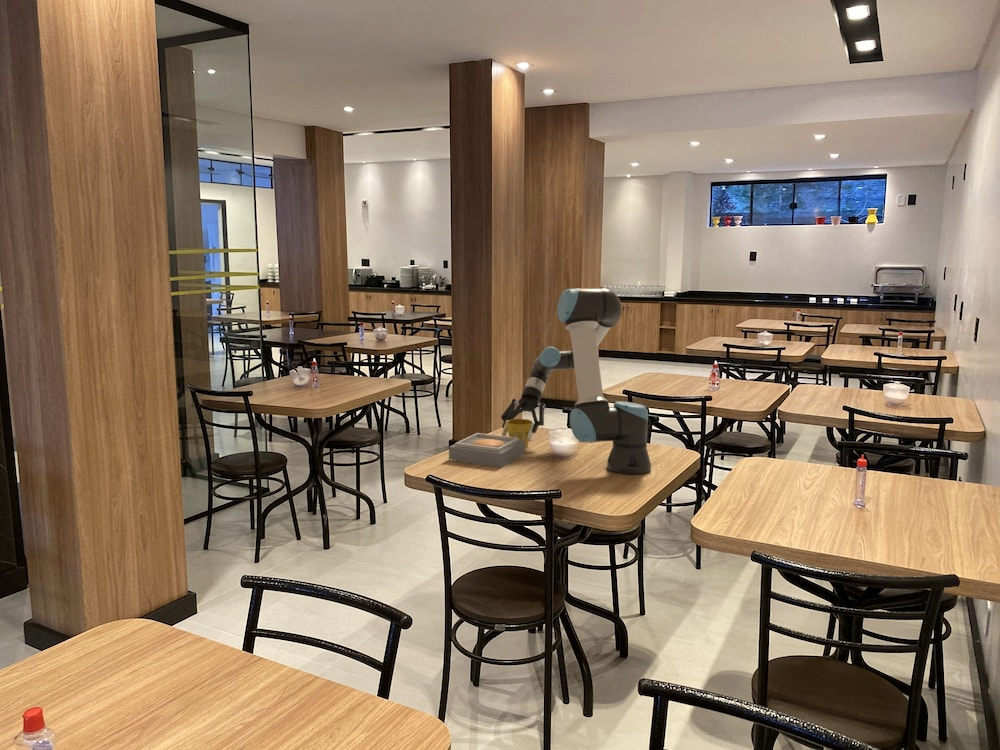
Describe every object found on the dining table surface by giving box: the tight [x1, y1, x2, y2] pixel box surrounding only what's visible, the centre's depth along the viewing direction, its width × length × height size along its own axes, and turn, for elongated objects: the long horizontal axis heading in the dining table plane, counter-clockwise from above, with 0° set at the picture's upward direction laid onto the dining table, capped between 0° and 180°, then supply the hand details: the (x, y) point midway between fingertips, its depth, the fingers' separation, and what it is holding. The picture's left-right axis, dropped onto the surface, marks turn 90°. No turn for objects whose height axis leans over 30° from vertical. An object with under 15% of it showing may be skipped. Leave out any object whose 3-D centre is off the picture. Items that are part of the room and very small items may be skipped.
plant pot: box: [506, 418, 534, 448], centre depth 284 cm, size 10×10×10 cm
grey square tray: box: [448, 432, 526, 468], centre depth 268 cm, size 21×21×6 cm
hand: (515, 437), depth 281 cm, fingers closed on plant pot, 10 cm apart
